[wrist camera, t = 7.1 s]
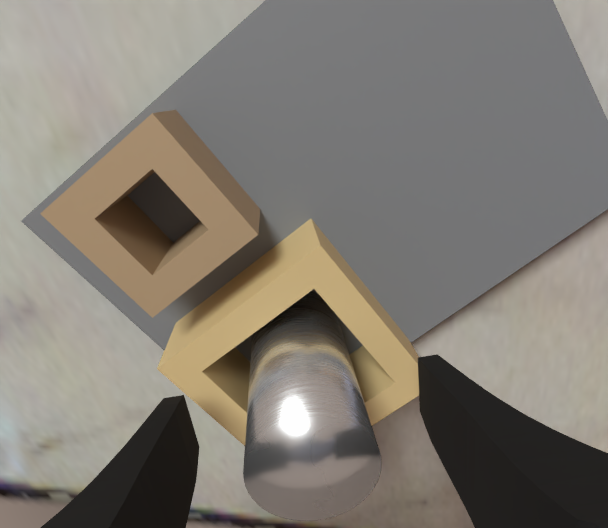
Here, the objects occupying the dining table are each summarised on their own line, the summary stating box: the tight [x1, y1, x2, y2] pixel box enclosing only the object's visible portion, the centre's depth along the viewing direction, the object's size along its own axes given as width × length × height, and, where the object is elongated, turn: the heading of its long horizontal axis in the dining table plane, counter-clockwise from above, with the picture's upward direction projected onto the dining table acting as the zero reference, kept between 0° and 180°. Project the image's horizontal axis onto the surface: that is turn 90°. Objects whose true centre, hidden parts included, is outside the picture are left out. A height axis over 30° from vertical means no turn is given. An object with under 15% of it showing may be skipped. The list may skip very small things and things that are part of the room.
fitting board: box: [22, 0, 608, 446], centre depth 14 cm, size 13×18×4 cm
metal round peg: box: [243, 291, 382, 521], centre depth 14 cm, size 3×3×7 cm
